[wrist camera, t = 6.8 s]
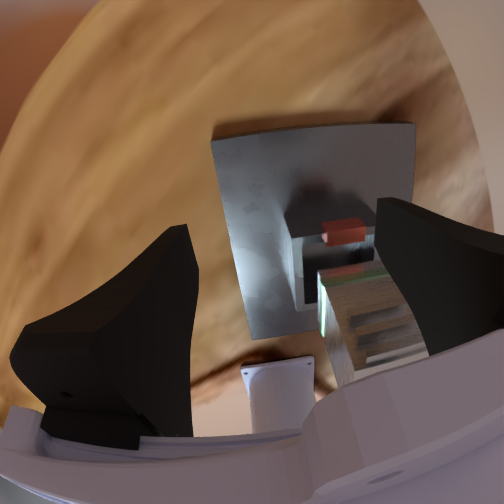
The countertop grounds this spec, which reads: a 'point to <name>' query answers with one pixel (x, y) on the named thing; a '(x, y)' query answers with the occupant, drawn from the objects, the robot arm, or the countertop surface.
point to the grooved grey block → (365, 321)
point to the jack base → (306, 209)
